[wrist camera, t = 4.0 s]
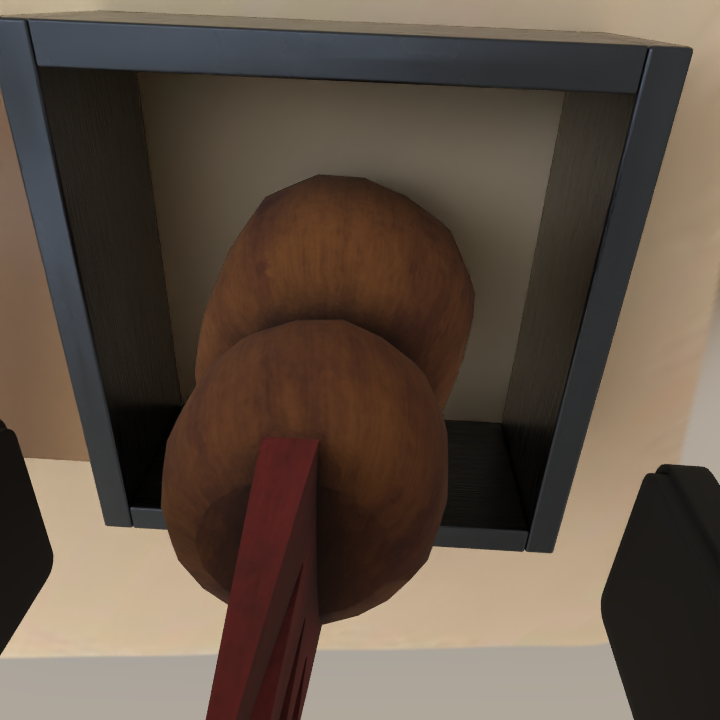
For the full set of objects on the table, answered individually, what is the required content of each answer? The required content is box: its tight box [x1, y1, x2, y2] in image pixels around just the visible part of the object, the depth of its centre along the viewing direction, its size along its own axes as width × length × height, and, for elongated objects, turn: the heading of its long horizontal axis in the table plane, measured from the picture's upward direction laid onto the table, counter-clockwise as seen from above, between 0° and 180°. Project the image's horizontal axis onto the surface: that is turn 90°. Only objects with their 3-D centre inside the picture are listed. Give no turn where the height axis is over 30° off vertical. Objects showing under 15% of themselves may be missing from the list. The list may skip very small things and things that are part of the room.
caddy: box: [0, 11, 693, 553], centre depth 16 cm, size 13×13×5 cm
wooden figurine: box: [161, 174, 475, 720], centre depth 12 cm, size 7×6×15 cm
